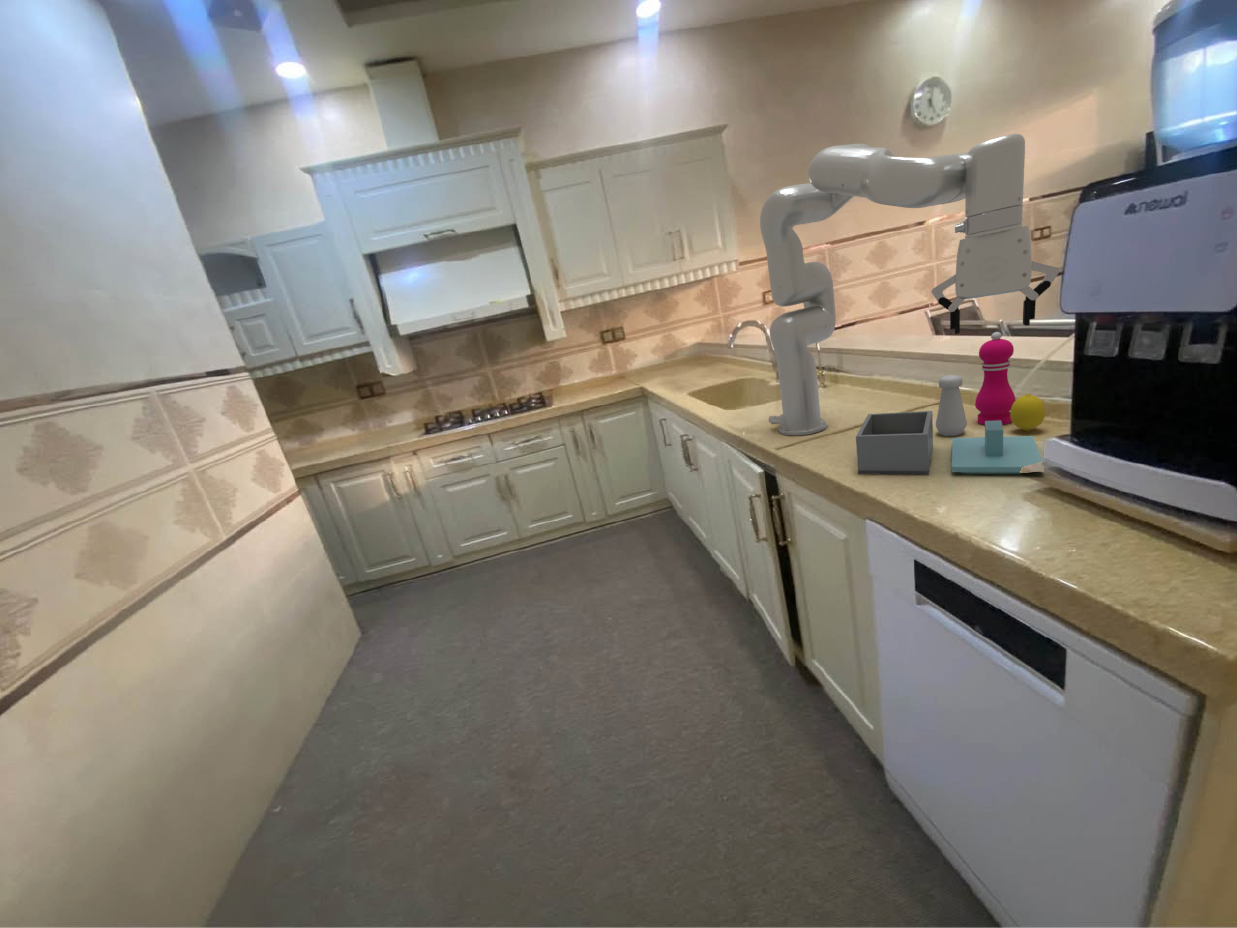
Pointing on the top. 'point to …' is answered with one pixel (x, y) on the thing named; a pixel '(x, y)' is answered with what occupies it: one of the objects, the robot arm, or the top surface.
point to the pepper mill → (995, 381)
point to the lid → (993, 452)
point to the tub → (895, 443)
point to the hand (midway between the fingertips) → (990, 328)
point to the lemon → (1027, 412)
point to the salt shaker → (950, 407)
